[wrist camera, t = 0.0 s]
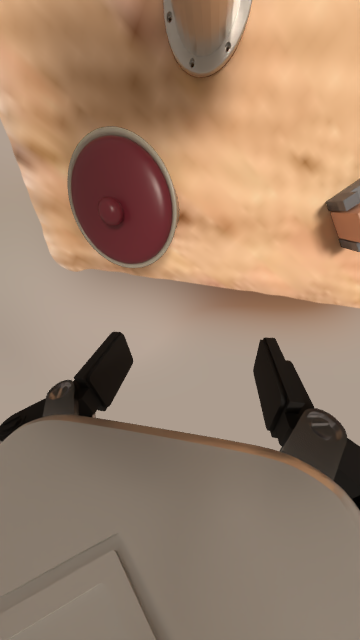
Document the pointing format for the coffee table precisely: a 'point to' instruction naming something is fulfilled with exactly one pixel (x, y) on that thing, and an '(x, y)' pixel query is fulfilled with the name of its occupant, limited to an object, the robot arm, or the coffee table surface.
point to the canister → (122, 197)
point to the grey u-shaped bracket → (346, 208)
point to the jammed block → (348, 223)
